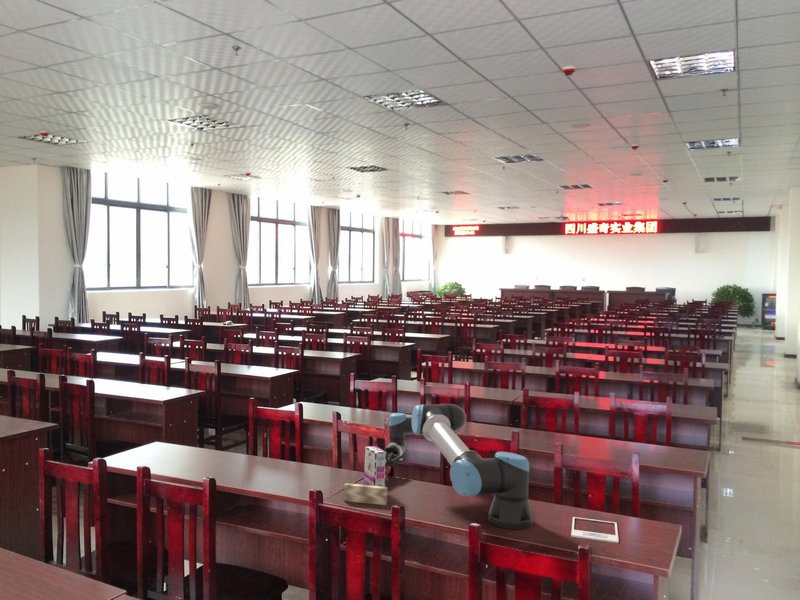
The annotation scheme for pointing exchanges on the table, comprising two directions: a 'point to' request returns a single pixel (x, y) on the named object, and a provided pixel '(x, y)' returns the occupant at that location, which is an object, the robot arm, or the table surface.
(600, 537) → the photo frame
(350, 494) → the board
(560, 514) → the table surface
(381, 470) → the candy bar box
